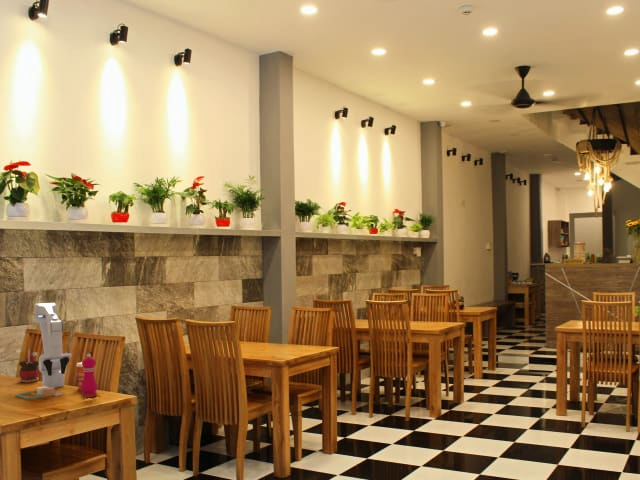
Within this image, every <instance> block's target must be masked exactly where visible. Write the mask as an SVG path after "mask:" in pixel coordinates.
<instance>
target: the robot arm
mask: <svg viewBox="0 0 640 480" xmlns="http://www.w3.org/2000/svg"><path fill="white" fill-rule="evenodd" d="M33 308H34V309H33V310H34V311H33V313H34V319H35V322H37V323H39V326H40V331H41V339H42V349H43V350H42V351H43V353H42V354H41V355H40V356H39V358H38V362H39V365H38V369H39V373H41V374H42V387H43V386H47V387H49V388H55V389H56V388H62V387H64V386H65V376H64V374H66V369H67V366H68V363H69V361H70V358H72V353H71V352H70V353H63V332H64V330H65V329H64V325H65V324H64V321H63V320H62V319H60V318H59V316H58V315H57V303H55V302H47V303H46V302H44V303H43V302H42V303H37V302H36V303H35V304H34V307H33Z"/></svg>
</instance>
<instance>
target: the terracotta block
mask: <svg viewBox="0 0 640 480" xmlns="http://www.w3.org/2000/svg"><path fill="white" fill-rule="evenodd" d="M55 392H56V388H45V389H43V395H45V396H51V397H53V396H52V395H55Z"/></svg>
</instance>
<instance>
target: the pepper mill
mask: <svg viewBox="0 0 640 480" xmlns="http://www.w3.org/2000/svg"><path fill="white" fill-rule="evenodd" d="M81 362H82V365H83V367H84V368H83V369H84V370H83V371H84V380H83V383H82V386H81V390H80V391H81V392H82V394H81V395H82V396H87V397H85V398H86V400H87V399H88V398H90V399H95V398H97V390H98V388H99V387H98V382H97V381H96V378H95V373H94V372H95V366H96V364H97V363H96V362H97V361H96V359H95V358H94V357H92V356H91V354H90V353H87V354H86V357H84V358H83V360H82V361H81ZM88 400H89V399H88Z"/></svg>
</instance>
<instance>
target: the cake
mask: <svg viewBox="0 0 640 480" xmlns="http://www.w3.org/2000/svg"><path fill="white" fill-rule="evenodd" d="M36 356H38V352H32V353H31V348H30V346H29V347H27V358H26V360H21V361H20V362H19V363H18V365H19V366H20V370H19V371H18V372H19V377H20V379H19V382H23V383H32V382H33V381H34V382H36V381H39V380H40V377H39V375H40V371H39V360H36V359H35V357H36Z"/></svg>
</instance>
